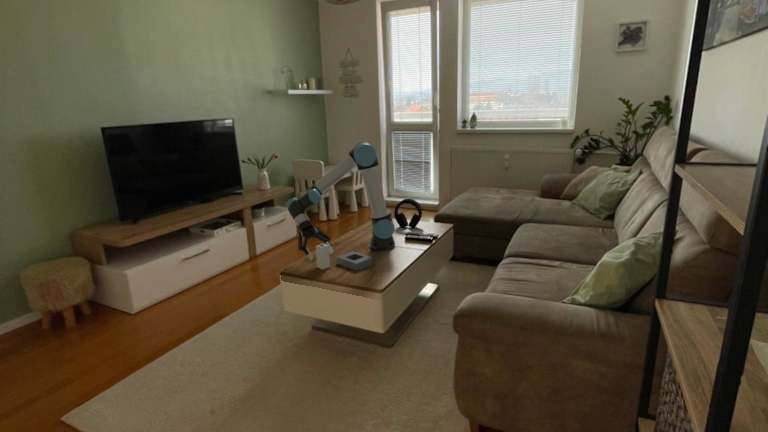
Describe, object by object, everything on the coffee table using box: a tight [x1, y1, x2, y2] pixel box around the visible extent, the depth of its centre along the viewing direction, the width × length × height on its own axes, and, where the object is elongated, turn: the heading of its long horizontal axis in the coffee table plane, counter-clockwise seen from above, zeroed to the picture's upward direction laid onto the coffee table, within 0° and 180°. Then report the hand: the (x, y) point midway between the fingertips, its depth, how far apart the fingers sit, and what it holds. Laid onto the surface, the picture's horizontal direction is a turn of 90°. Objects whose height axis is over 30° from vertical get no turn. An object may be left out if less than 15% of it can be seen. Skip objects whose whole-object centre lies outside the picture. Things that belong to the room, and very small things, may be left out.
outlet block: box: [336, 250, 374, 272], centre depth 230 cm, size 16×12×4 cm
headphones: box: [393, 198, 423, 229], centre depth 293 cm, size 19×7×20 cm, turn 73°
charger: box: [315, 243, 331, 270], centre depth 226 cm, size 5×5×12 cm
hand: (322, 255), depth 225 cm, fingers open, 13 cm apart
